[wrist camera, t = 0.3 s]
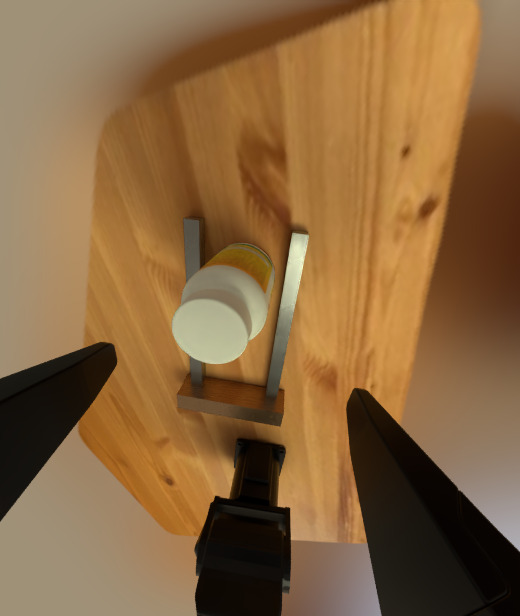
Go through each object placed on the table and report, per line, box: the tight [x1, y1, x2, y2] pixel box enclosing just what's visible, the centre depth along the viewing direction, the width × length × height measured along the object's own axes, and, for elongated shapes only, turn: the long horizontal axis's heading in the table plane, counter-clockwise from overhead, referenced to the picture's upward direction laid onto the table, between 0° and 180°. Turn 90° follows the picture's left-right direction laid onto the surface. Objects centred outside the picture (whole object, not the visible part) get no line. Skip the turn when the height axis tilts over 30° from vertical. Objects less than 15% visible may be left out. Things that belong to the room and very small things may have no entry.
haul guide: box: [177, 216, 309, 427], centre depth 22 cm, size 19×11×3 cm, turn 174°
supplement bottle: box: [172, 243, 275, 364], centre depth 16 cm, size 5×5×10 cm
